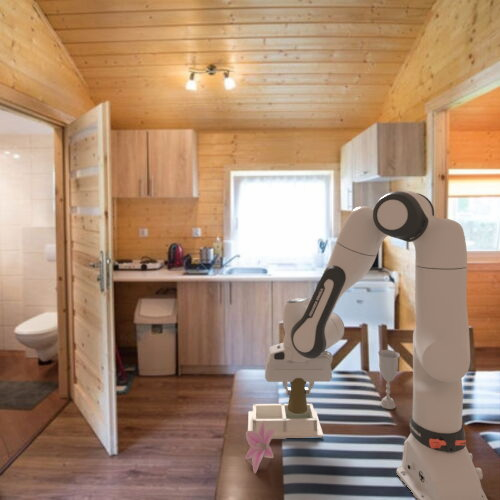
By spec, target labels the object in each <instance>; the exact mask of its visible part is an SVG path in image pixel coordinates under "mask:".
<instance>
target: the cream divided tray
mask: <svg viewBox="0 0 500 500" xmlns="http://www.w3.org/2000/svg"><path fill="white" fill-rule="evenodd" d="M247 416H248V418H247V431H256V432H258V431H259V428H260V425H261V423H262V422H263V420H264V422H265V429H266V430H268V429H271V428H276V432H275V434H274V435H273V437H272V439H271V440H287V439H286V438H306V437H307V438H308V437H310V438H311V437H313V438H314V437H323V438H324V433H323V429H322V426H321V424H320V423H321V422H320V420H319V416H318V412H317V410H315V409H314V405H313V403H307V411H306V412H305V413H302V414H295V413H292V412H290V411H289V410H288V403H253V404H252V410H249V411H248V414H247Z"/></svg>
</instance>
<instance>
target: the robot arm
mask: <svg viewBox="0 0 500 500" xmlns="http://www.w3.org/2000/svg"><path fill="white" fill-rule="evenodd" d="M387 237H391V238H394V239H398V240H401V241H403V242H408V243H413V246H414V251H415V258H414V260H415V263H414V264H415V266H414V267H415V269H414V270H415V271H414V272H415V273H414V276H415V277H414V278H415V280H414V284H415V285H414V300H415V301H414V304H415V327H414V328H413V334H412V381H413V382H412V385H413V386H412V413H411V415H410V419H409V432H410V434H409V436H408V437H407V438H406V439H405V441H403V450H402V461H401V462H402V463H401V465H400V466H398V467H397V469H396V471H395V472H396V473H397V474H396V473H395V474H396V476H397V475H398V476H399V477H400V478H401V479H400V478H399V477H398V476H397V477H398V478H399V479H400V481H401V482H402V481H403V482H404V483H405V484H406V485H407V487H408V488H409V489H410V490H411V491H410V490H409V489H408V488H407V487H406V488H407V489H408V490H409V491H410V493H411V492H412V493H413V494H412V493H411V494H412V495H413V496H414V497H415V499H416V498H417V499H418V500H489V499H488V498H487V495H486V493H485V492H484V489H483V487H482V484H481V480H483V477H484V476H483V471H482V468H480V467H475V465H474V463H473V457H474V456H473V454H472V453H471V452H469V450H468V448H467V440H466V431H465V427H464V424H463V411H464V410H463V406H464V405H463V404H464V390H463V380H462V379H463V378H464V377H465V376H466V375H467V373H468V372H469V370H470V365H471V345H470V344H471V343H470V329H469V328H470V327H469V326H470V325H469V315H468V302H467V290H468V289H467V287H468V286H467V285H468V284H467V283H468V282H467V281H468V251H467V243H466V237H465V231H464V228H463V226H462V225H461V224H460V223H459V222H458V221H456V220H453V219H450V218H443V217H442V218H439V217H435V209H434V206H433V204H432V202H431V200H430V199H429V198H428V197H427V196H426V195H423V194H422V193H418V192H415V191H411V190H399V191H391V192H388V193H386V194H385V195H383V196H382V197H380V198H379V200H378V201H377V202H376V203H375V205H374V207H372V206H367V205H362V206H357V207H355V208H353V209H352V210H351V211H350V213H349V215H348V216H347V217H346V220H345V222H344V224H343V226H342V227H341V229H340V232H339V233H338V236H337V238H336V242H335V243H334V244H335V245H334V247H333V250H332V252H331V255H330V258H329V260H328V262H327V265H326V267H325V269H324V271H323V273H322V276H321V277H320V279H319V281H318V284H317V285H316V288H315V289H314V292H313V294H312V296H311V298H309V297H296V298H293V299H289V300H288V301H287V302H286V303H285V305H284V310H283V325H282V326H283V330H284V337H283V342H280V343H277V344H274V345H271V346H270V347H269V350H268V356H267V357H266V360H265V361H266V362H265V368H264V378H265V380H266V382H268V383H281V384H282V386H283V388H284V389H285V394H286V396H290V395H291V386H290V387H289V386H288V383H290V382H292V381H293V380H294V379H295V378H302V379H303V380H304V381H305V382H306V383H307V382H308V386H307V387H306V386H305V394H306V396H311V390H312V389H313V388H314V386H315V382H316V383H317V382H318V383H319V382H321V383H322V382H330V381H332V379H333V372H332V365H331V364H332V363H333V354H332V353H331V352H330V351H328V349H330V348H331V347H333V346H335V345H336V344H337V343H339V342H340V341H341V340H342V339H343V338H344V335H345V331H346V329H345V324H344V322H343V320H342V318H341V316H339V315H338V314H337V313H335V312H334V311H335V310H334V309H335V307H336V305H337V303H338V302H339V300H340V298H341V297H342V296H343V294H345V292H346V291H348V289H350V288H351V287H352V286H355V284H356V283H358V282H359V281H361V280H362V279H363V278H364V277H366V275H367V274H368V273H369V272H370V270H371V268H372V267H373V265H374V263H375V260H376V258H377V255H378V253H379V251H380V248H381V246H382V244H383V241H384V240H385V239H386V238H387ZM403 482H402V483H403ZM404 483H403V484H404ZM405 484H404V485H405ZM406 485H405V486H406ZM417 499H416V500H417Z"/></svg>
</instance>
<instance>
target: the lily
mask: <svg viewBox="0 0 500 500" xmlns="http://www.w3.org/2000/svg"><path fill="white" fill-rule="evenodd" d="M275 432H276V428H271V429H268V430H266V429H265V422H264V420H263V422H262V423H261V425H260V428H259V431H258V432H256V431H248V430H246V432H245V439H246V441H247V444H248V445H249V446H250V447H249V449H248V451H247V452H246V455H245V456H244V459H245V460H249V459H251V464H252V470H253V473H254V474H257V471H258V469H259V466H260V463H261V462H262V459H264V458H267V459H274V457H275V454H274V453H273V450H272V448H271V446H270V443H271V441H272V440H273V439H272V437H273V435H274V434H275Z"/></svg>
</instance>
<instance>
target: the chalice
mask: <svg viewBox="0 0 500 500" xmlns="http://www.w3.org/2000/svg"><path fill="white" fill-rule="evenodd" d="M377 353H378V356H379V361H378V362H379V364H378V365H379V370H380V373H381V375H382V377H383V379H384V381H386V385H385V387H386V390H385V393H386V395H385V396H383V398H382V399H381V401H380V403H379V405H381V406H382V408H383V409H387V410H393V409H395V408H396V404H395V401H394V399H393V398H392V397H391V396H390V394H391V390H390V389H391V387H392V386H391V384H390V383H391V382H393V380H394V379H395V377H396V375H397V372H398V370H399V358H400V355H401V354H400V353H399V352H397V351H394V350H391V349H381V350H378V352H377ZM381 406H380V407H381Z"/></svg>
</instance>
